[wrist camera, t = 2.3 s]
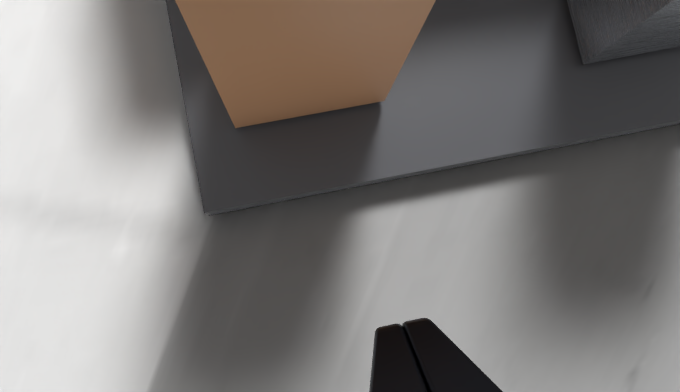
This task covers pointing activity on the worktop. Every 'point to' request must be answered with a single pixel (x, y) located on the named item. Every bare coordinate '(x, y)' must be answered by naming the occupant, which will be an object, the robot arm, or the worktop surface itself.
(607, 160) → the worktop surface
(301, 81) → the tan rectangular block
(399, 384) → the robot arm
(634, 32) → the light grey block
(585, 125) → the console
